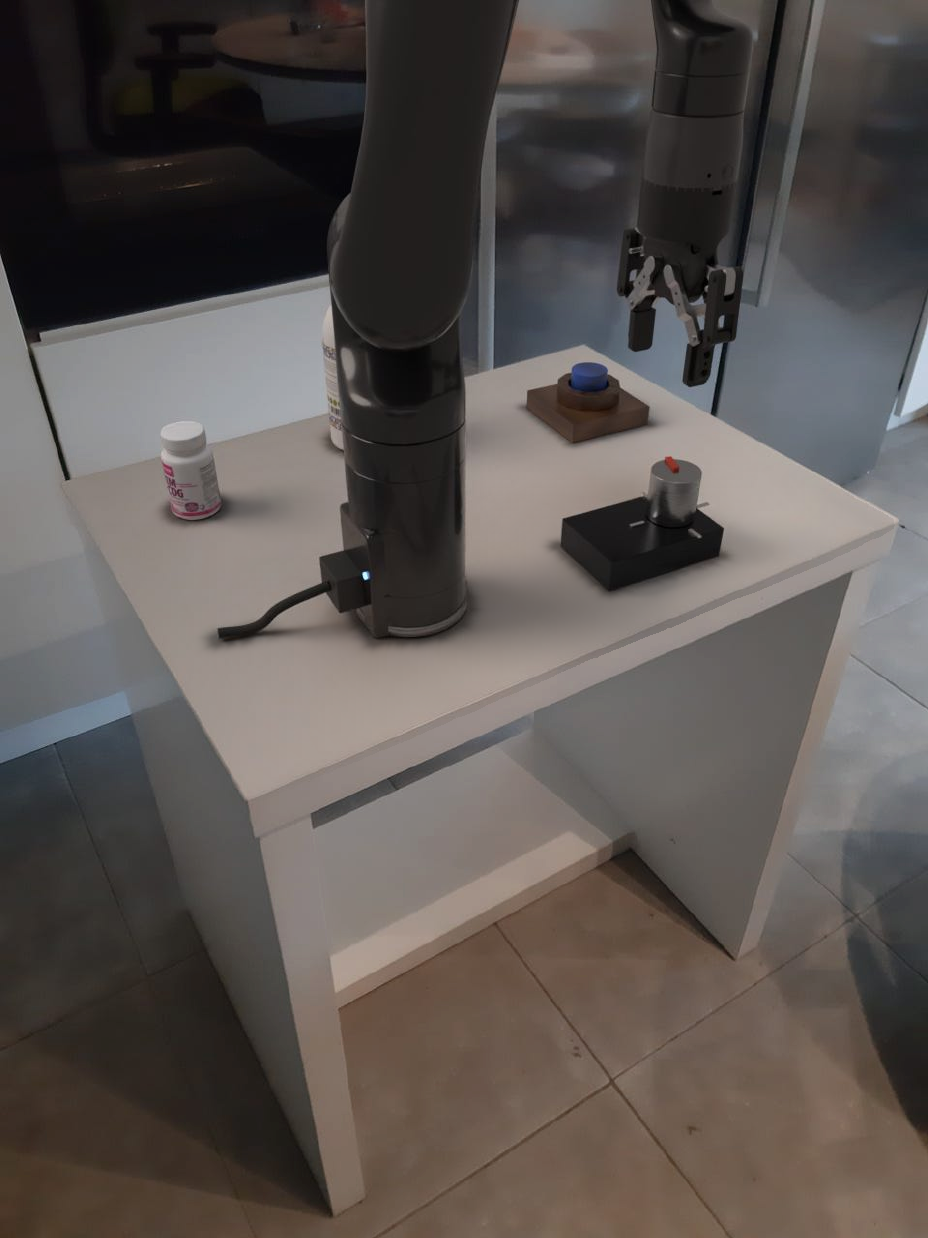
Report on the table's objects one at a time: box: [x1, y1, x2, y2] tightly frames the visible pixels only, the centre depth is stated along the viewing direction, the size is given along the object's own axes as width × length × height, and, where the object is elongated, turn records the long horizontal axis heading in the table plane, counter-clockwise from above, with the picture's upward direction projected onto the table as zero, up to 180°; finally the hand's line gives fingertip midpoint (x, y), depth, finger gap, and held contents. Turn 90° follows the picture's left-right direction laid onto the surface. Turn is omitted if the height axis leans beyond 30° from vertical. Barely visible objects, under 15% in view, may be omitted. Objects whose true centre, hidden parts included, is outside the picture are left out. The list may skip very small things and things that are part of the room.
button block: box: [526, 371, 651, 444], centre depth 111 cm, size 10×10×4 cm
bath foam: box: [321, 304, 344, 451], centre depth 101 cm, size 7×7×20 cm
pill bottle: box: [159, 420, 222, 521], centre depth 93 cm, size 5×5×8 cm
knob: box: [646, 455, 703, 527], centre depth 87 cm, size 4×4×5 cm
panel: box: [560, 491, 725, 592], centre depth 89 cm, size 13×9×3 cm, turn 117°
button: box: [570, 361, 609, 392], centre depth 109 cm, size 4×4×2 cm
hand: (666, 366), depth 87 cm, fingers open, 8 cm apart
